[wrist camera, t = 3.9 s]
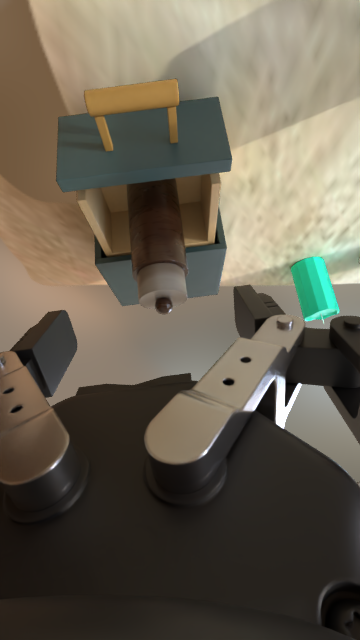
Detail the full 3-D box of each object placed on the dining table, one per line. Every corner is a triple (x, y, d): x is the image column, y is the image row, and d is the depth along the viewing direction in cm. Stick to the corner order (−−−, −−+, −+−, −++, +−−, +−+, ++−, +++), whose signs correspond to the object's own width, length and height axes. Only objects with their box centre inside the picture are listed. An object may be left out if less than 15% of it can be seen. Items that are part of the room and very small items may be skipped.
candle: (284, 270, 57) (299, 328, 53) (309, 254, 52) (328, 317, 48) (304, 274, 59) (320, 329, 56) (330, 259, 55) (349, 319, 51)
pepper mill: (121, 168, 28) (129, 306, 23) (174, 161, 28) (193, 298, 23) (132, 205, 33) (140, 326, 28) (177, 200, 33) (193, 319, 28)
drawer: (31, 57, 20) (25, 128, 18) (223, 32, 20) (241, 101, 17) (100, 211, 34) (102, 260, 32) (210, 197, 34) (219, 245, 32)
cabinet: (93, 201, 34) (94, 264, 31) (215, 186, 34) (226, 248, 31) (119, 257, 46) (121, 306, 43) (209, 246, 46) (217, 294, 43)
